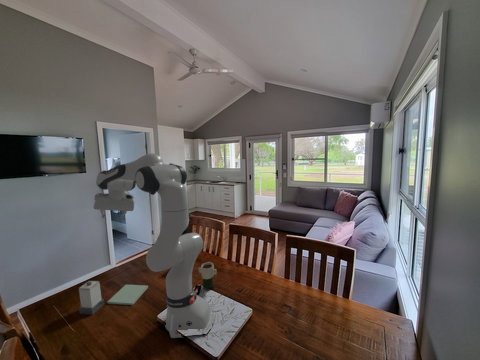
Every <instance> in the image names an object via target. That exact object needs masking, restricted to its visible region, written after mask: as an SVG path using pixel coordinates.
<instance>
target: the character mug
mask: <svg viewBox="0 0 480 360" xmlns="http://www.w3.org/2000/svg"><path fill="white" fill-rule="evenodd" d="M198 273H199V274H201V277H202V288H203V287H204V288H206V289H205V290H210V289H212V288H213V287H214V286H215V284H214V278H213V277H214V276H215V275H216V276H217V275H218V272H217V269H216V268H215V266H214V263H213V262H211V261H208V262H207V261H206V262H204V263H202V264H201V267H198ZM204 288H203V289H204Z"/></svg>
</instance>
